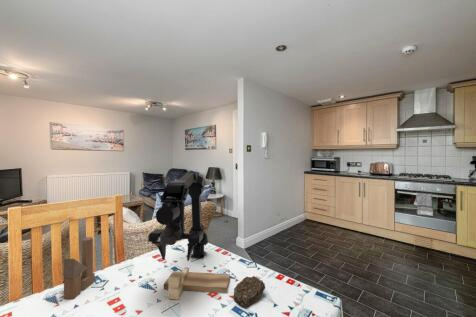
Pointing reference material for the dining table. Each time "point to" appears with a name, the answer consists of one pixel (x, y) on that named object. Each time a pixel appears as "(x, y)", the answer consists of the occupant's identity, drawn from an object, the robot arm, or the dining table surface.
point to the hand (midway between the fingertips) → (176, 259)
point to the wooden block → (79, 271)
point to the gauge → (176, 283)
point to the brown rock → (248, 290)
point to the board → (204, 282)
